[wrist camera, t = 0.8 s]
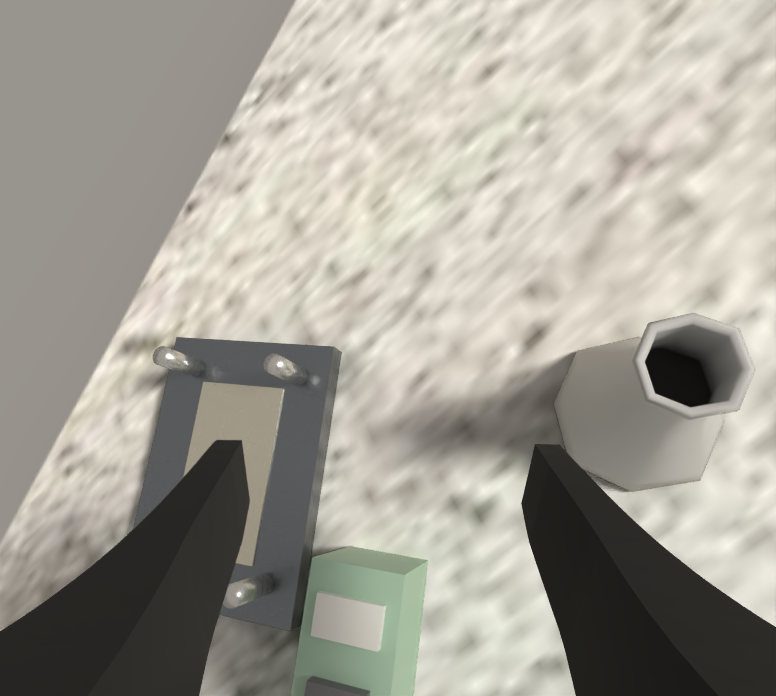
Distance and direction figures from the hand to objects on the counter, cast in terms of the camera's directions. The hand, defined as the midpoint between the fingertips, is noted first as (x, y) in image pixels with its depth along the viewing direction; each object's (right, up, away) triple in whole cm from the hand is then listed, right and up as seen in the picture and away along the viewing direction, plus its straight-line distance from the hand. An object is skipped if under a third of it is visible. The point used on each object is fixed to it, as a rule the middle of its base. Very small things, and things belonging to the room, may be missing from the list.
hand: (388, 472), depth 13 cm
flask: (+12, 0, +12) cm, 17 cm away
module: (0, -11, +12) cm, 16 cm away
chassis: (-8, -4, +16) cm, 18 cm away
